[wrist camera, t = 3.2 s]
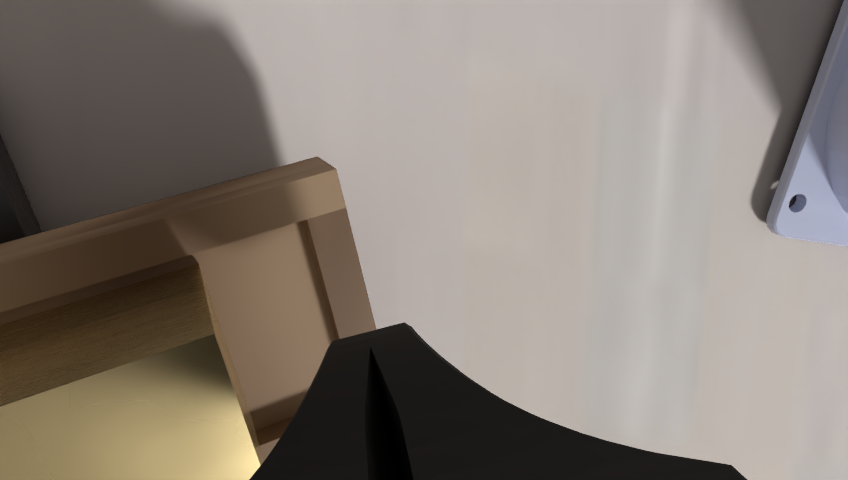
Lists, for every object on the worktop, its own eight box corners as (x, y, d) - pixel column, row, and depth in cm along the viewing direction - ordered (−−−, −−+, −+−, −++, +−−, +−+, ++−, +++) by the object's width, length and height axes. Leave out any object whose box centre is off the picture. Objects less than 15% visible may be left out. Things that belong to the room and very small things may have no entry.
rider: (199, 263, 13) (214, 334, 10) (251, 415, 14) (279, 520, 11) (-160, 373, 11) (-281, 502, 8) (-64, 535, 12) (-135, 700, 9)
